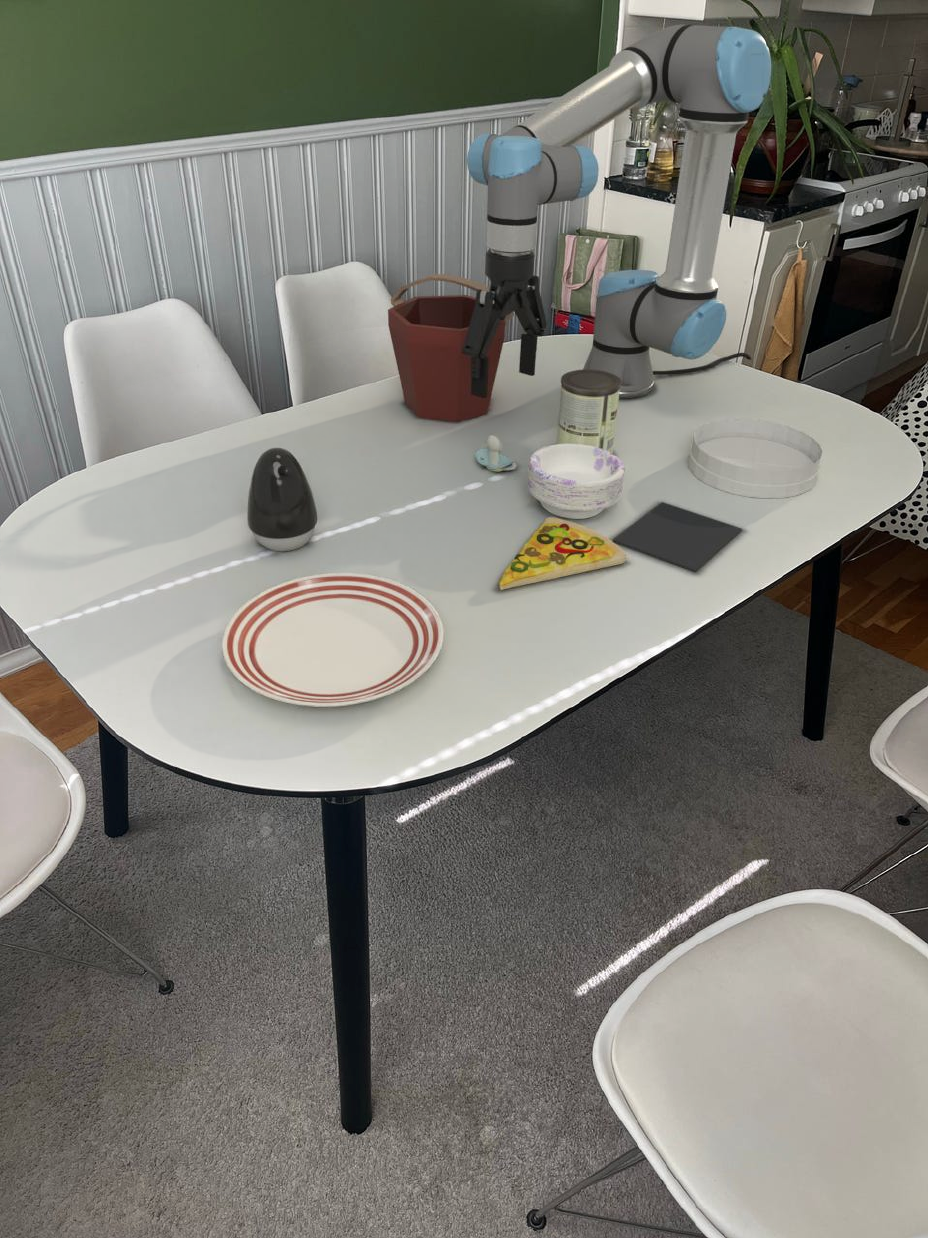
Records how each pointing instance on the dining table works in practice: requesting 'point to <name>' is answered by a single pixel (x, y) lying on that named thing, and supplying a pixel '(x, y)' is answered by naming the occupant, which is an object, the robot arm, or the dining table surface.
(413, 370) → the bucket
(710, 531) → the placemat
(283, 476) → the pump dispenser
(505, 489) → the dining table surface
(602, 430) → the coffee can
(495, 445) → the pacifier
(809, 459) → the dish
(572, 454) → the paper bowls
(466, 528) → the dining table surface
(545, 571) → the pizza slice
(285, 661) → the dinner plate
